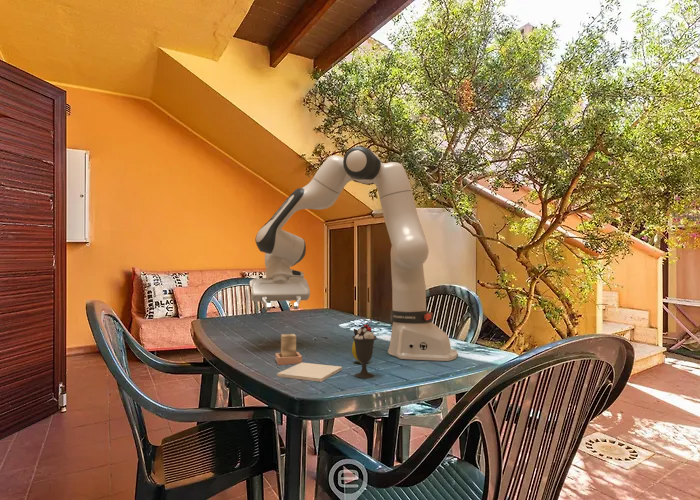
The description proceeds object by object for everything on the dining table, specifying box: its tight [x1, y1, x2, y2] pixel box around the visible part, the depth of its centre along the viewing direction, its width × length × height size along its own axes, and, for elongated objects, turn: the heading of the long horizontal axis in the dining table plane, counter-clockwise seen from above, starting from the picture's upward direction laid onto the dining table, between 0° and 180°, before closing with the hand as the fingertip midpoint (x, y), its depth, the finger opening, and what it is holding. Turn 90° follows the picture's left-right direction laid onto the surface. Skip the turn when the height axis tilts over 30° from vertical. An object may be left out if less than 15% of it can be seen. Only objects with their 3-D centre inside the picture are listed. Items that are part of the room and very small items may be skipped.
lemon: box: [351, 341, 362, 364], centre depth 124 cm, size 6×6×8 cm
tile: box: [276, 362, 343, 383], centre depth 112 cm, size 13×13×1 cm
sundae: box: [351, 318, 378, 379], centre depth 109 cm, size 7×7×15 cm
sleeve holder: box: [274, 351, 303, 366], centre depth 125 cm, size 7×7×2 cm
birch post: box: [280, 333, 297, 357], centre depth 125 cm, size 4×4×8 cm
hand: (282, 308), depth 138 cm, fingers open, 8 cm apart
